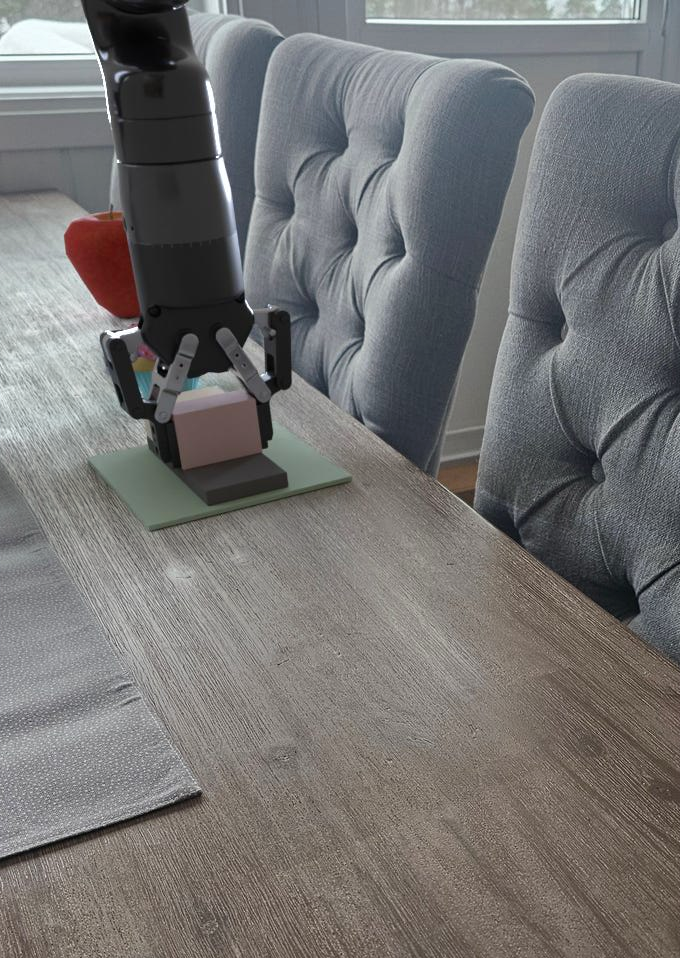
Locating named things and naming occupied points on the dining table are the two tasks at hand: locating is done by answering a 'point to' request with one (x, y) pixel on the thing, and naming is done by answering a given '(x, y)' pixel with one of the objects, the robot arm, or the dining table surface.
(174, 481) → the mat
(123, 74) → the robot arm
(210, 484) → the blocks on dark base
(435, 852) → the dining table surface
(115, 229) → the apple
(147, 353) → the cupcake
